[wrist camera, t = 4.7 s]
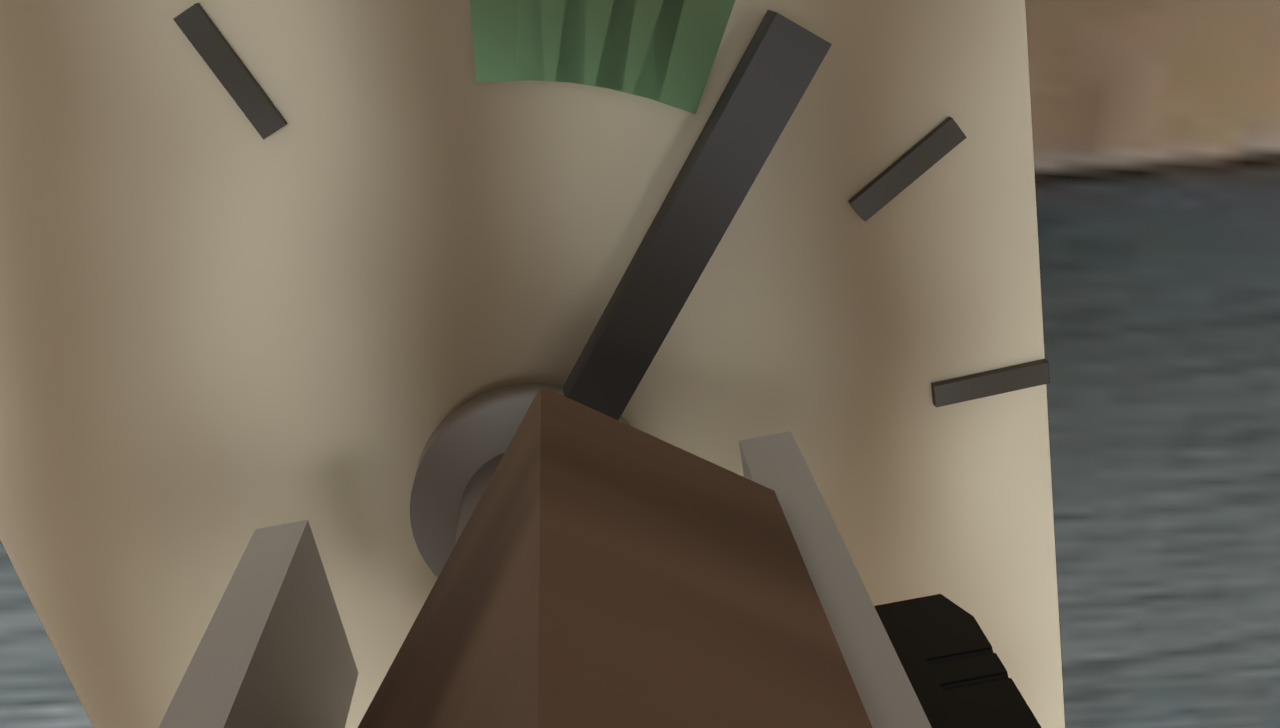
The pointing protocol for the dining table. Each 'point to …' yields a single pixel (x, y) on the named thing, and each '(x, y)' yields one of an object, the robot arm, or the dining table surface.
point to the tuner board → (495, 293)
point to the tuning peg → (621, 511)
